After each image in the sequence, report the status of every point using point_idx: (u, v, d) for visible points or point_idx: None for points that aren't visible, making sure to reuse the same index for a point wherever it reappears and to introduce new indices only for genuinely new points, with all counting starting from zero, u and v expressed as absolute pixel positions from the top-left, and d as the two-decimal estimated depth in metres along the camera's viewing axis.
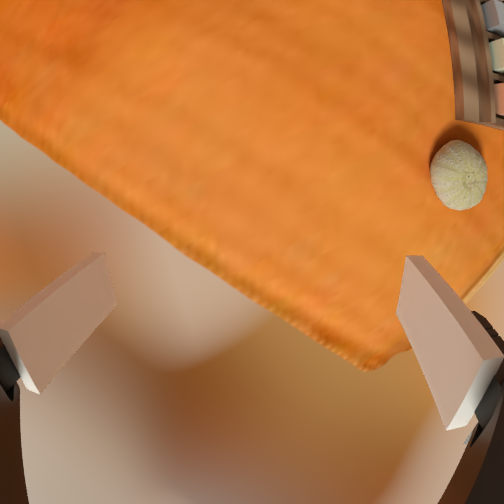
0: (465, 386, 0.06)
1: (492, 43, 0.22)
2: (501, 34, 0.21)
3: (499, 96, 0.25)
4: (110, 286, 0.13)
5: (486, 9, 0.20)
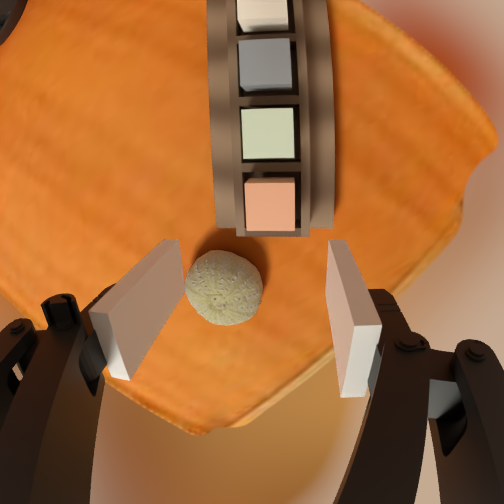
0: (347, 352, 0.08)
1: None
2: (274, 89, 0.24)
3: None
4: (181, 272, 0.15)
5: None
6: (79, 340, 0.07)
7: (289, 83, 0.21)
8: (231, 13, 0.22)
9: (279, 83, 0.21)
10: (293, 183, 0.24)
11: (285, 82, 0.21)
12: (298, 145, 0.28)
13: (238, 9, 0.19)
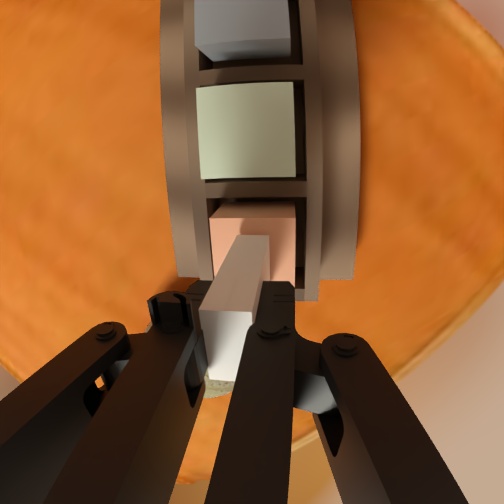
0: None
1: None
2: (260, 56, 0.13)
3: None
4: None
5: None
6: (189, 347, 0.07)
7: (285, 38, 0.10)
8: None
9: (267, 38, 0.10)
10: (293, 218, 0.14)
11: (278, 35, 0.10)
12: (301, 150, 0.17)
13: None
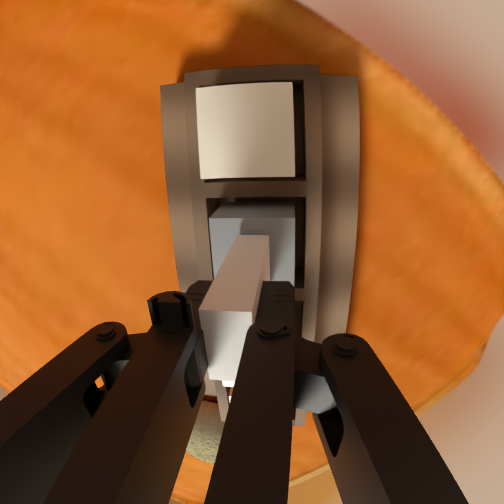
0: None
1: None
2: None
3: None
4: None
5: None
6: (188, 347, 0.07)
7: None
8: (194, 135, 0.15)
9: None
10: None
11: None
12: (298, 324, 0.22)
13: (201, 154, 0.13)
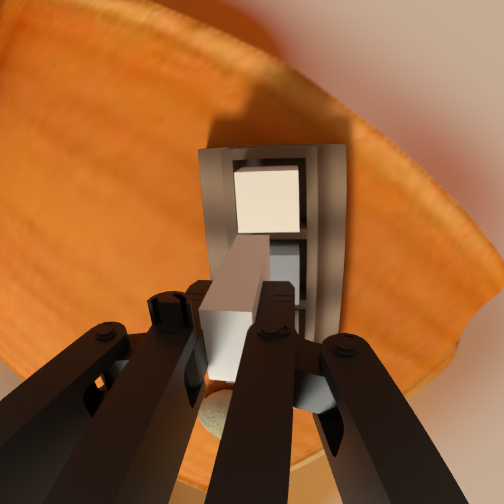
0: None
1: None
2: None
3: None
4: None
5: None
6: (188, 347, 0.07)
7: (296, 303, 0.23)
8: (229, 196, 0.23)
9: None
10: None
11: None
12: (302, 325, 0.29)
13: (238, 217, 0.20)
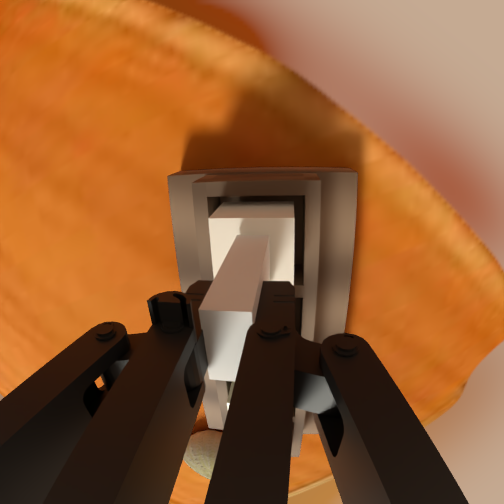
0: None
1: None
2: None
3: None
4: None
5: None
6: (188, 347, 0.07)
7: None
8: (204, 243, 0.17)
9: None
10: None
11: None
12: None
13: (215, 275, 0.16)
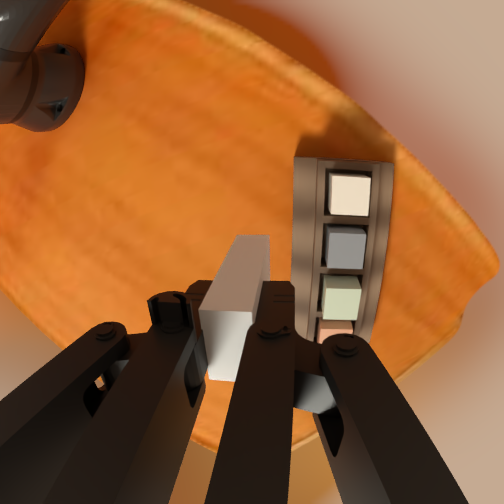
0: None
1: (324, 280, 0.36)
2: None
3: (318, 329, 0.39)
4: None
5: (327, 236, 0.35)
6: (188, 347, 0.07)
7: (360, 268, 0.33)
8: (321, 192, 0.32)
9: (354, 268, 0.33)
10: (352, 329, 0.36)
11: (358, 268, 0.33)
12: None
13: (332, 204, 0.31)
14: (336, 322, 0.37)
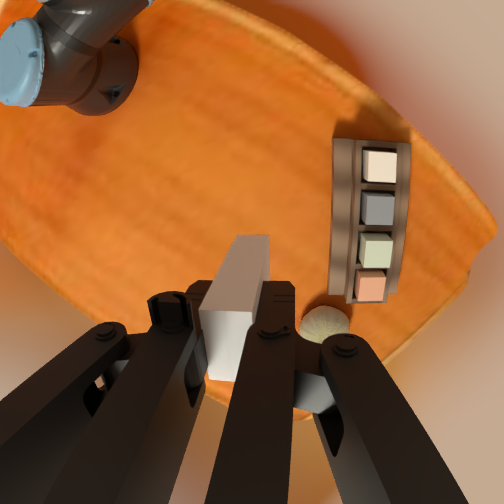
0: None
1: (362, 236, 0.43)
2: None
3: (356, 280, 0.46)
4: None
5: (363, 200, 0.42)
6: (188, 347, 0.07)
7: (391, 224, 0.40)
8: (358, 165, 0.39)
9: (386, 224, 0.40)
10: (385, 277, 0.43)
11: (389, 224, 0.40)
12: None
13: (368, 173, 0.38)
14: (371, 273, 0.45)
